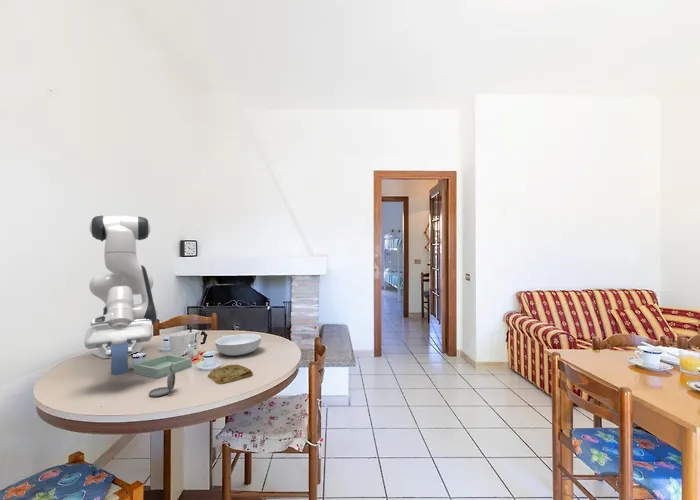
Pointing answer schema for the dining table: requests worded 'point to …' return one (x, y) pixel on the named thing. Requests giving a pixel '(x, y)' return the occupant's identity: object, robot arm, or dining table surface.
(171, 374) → the pocket watch
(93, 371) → the dining table surface
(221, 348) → the serving bowl
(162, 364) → the tray
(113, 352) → the shaker
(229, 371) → the pastry
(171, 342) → the white cup
